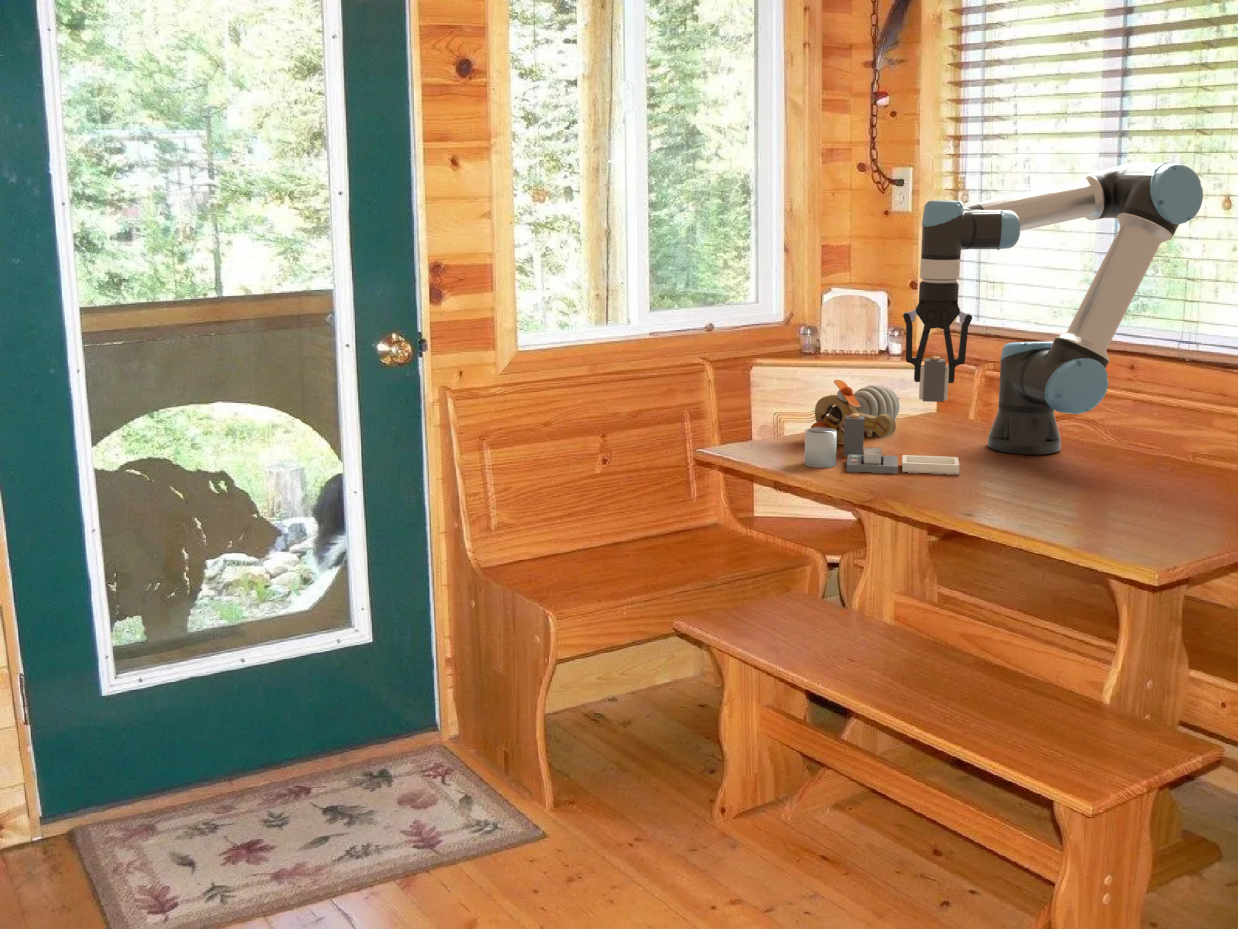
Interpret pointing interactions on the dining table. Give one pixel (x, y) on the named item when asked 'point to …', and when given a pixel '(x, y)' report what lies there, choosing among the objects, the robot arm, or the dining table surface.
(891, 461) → the base
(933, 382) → the cell
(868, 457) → the grey rectangular block
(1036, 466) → the dining table surface
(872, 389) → the grey ribbed rounded cylinder
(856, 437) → the block
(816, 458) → the cup
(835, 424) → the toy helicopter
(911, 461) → the trough
